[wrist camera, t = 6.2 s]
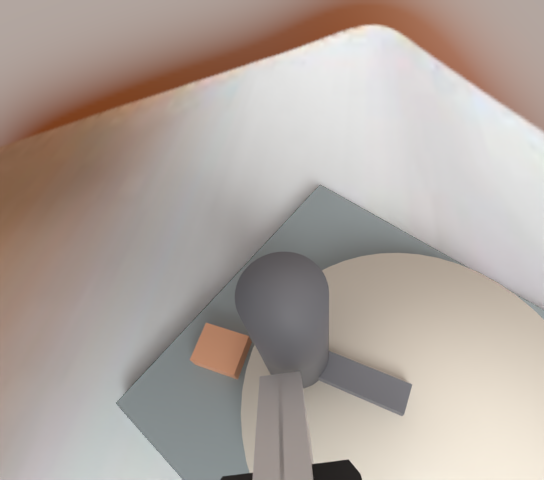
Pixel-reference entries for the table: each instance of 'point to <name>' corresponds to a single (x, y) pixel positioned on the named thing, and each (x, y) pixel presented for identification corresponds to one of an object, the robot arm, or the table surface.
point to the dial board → (244, 343)
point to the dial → (400, 364)
